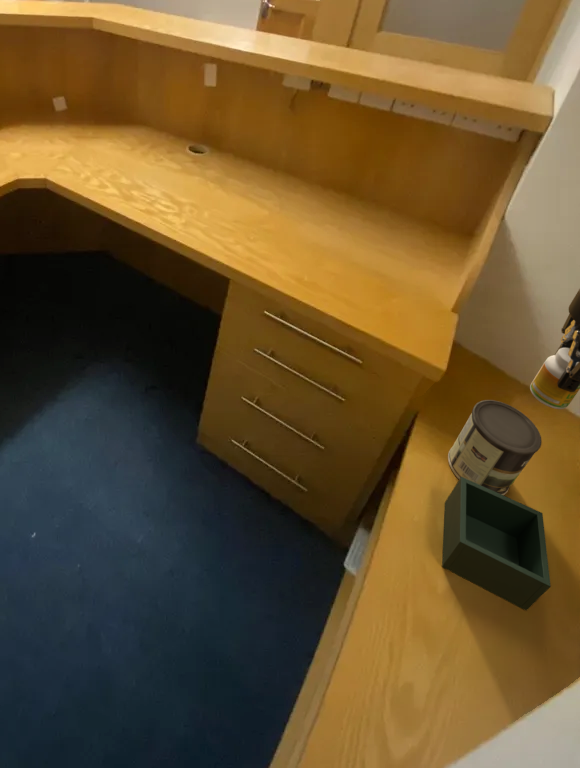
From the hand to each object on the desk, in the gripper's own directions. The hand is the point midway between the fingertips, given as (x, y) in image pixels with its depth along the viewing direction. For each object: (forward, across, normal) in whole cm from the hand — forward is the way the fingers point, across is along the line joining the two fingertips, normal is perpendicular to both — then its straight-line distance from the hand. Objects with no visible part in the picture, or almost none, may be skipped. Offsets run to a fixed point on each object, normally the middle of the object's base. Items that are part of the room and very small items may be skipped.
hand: (562, 374), depth 83 cm
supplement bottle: (+6, 0, 0) cm, 6 cm away
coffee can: (+27, -2, +4) cm, 28 cm away
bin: (+27, -18, +3) cm, 33 cm away
